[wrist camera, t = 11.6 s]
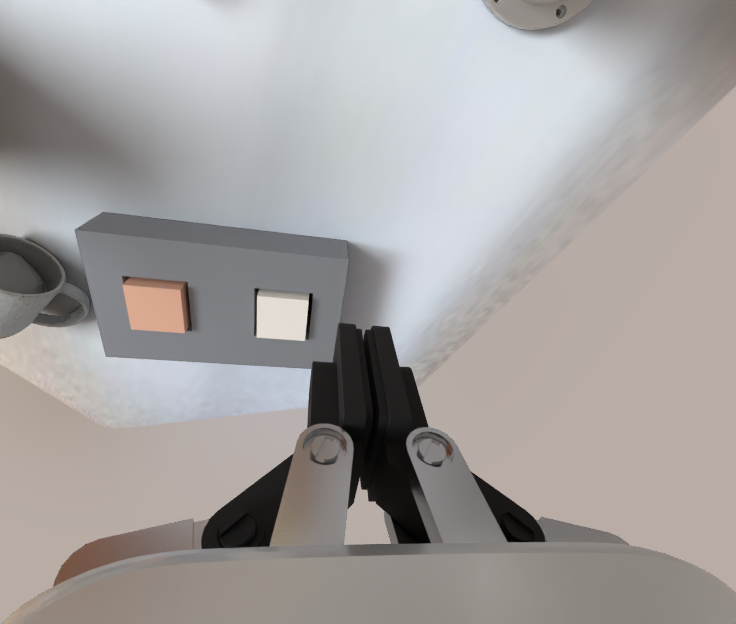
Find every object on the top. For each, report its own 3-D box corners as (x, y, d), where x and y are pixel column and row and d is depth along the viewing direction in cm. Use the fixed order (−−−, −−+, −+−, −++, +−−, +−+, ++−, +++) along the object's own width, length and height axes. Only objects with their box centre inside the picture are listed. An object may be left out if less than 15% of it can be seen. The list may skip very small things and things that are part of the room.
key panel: (346, 240, 41) (349, 259, 37) (332, 344, 48) (332, 370, 44) (102, 212, 37) (74, 230, 33) (126, 329, 44) (105, 356, 40)
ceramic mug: (-33, 276, 39) (-101, 317, 33) (0, 221, 37) (-67, 254, 30) (74, 331, 44) (33, 377, 38) (110, 286, 42) (72, 326, 35)
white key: (310, 278, 42) (308, 300, 38) (306, 316, 45) (305, 341, 41) (263, 274, 41) (257, 296, 37) (262, 313, 44) (256, 337, 40)
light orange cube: (194, 268, 40) (180, 290, 36) (198, 308, 42) (184, 333, 38) (143, 262, 39) (122, 284, 35) (149, 304, 42) (131, 329, 38)
